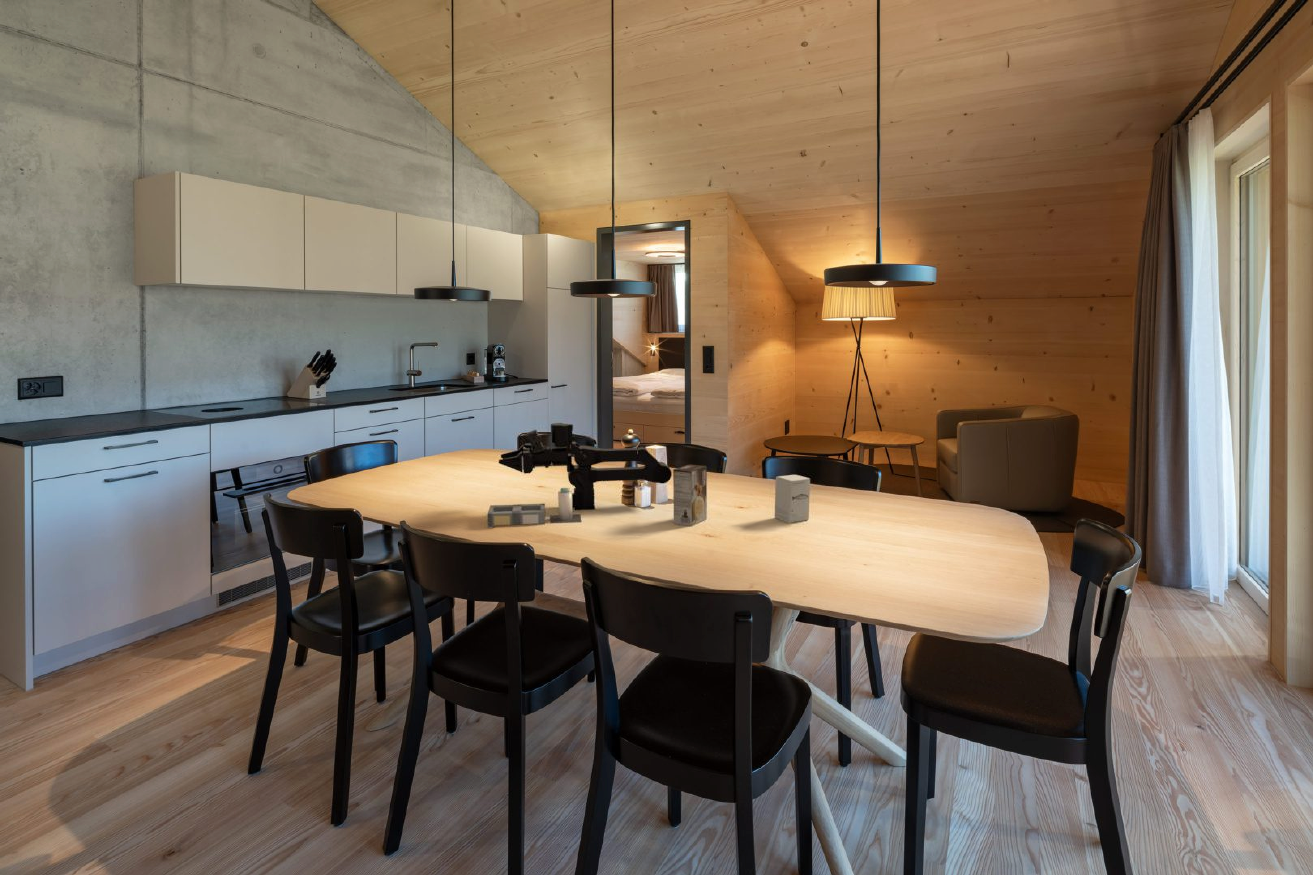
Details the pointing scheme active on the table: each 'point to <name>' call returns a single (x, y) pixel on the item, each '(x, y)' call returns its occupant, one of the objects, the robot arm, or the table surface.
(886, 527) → the table surface
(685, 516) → the coffee box
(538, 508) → the socket block
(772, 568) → the table surface
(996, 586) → the table surface
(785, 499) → the supplement box
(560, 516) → the beige and green cylinder
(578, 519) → the mat
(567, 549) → the table surface
